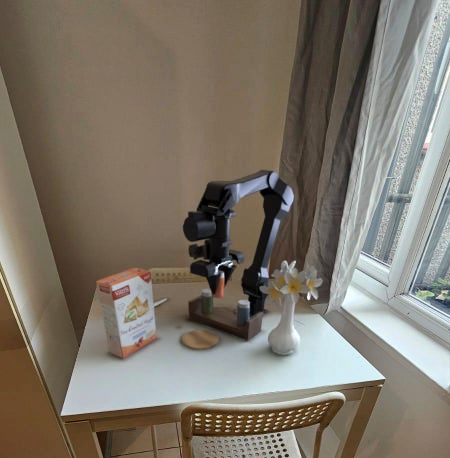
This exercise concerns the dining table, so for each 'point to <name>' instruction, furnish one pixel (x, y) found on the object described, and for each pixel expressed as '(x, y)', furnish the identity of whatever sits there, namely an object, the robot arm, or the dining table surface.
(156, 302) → the butter knife
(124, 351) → the cracker box
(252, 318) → the spice shelf
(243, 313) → the cylinder
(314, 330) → the dining table surface
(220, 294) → the terracotta shaker
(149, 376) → the dining table surface
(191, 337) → the cork trivet
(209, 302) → the cylinder
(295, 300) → the flower vase
